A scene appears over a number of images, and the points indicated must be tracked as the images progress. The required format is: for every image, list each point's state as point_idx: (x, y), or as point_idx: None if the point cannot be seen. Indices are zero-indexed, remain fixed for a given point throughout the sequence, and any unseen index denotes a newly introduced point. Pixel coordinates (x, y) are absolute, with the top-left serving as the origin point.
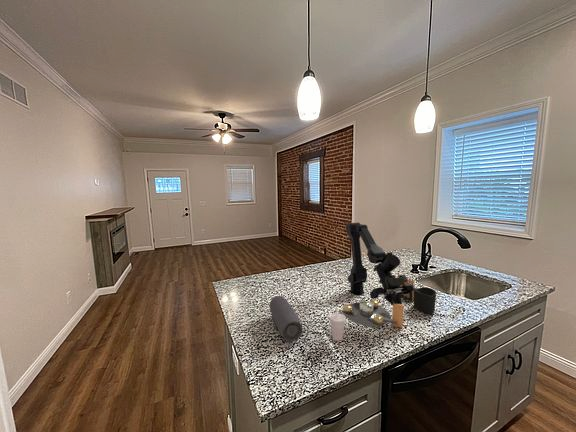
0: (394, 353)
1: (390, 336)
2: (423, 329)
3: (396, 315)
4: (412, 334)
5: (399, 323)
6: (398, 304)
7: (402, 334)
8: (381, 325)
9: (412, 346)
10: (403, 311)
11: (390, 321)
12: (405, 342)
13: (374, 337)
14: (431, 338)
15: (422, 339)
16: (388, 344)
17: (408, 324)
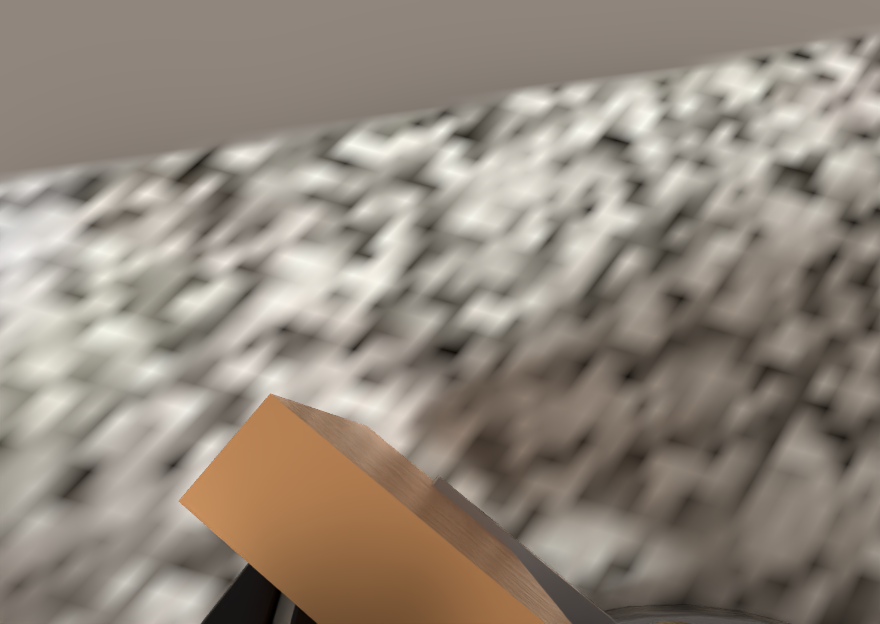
0: (778, 75)
1: (629, 370)
2: (20, 382)
3: (460, 517)
4: (285, 322)
5: (405, 462)
6: (404, 578)
7: (427, 363)
8: (661, 617)
9: (482, 117)
10: (315, 409)
11: (542, 563)
12: (512, 203)
13: (870, 413)
14: (109, 177)
15: (244, 193)
16: (757, 229)
17: (128, 575)
